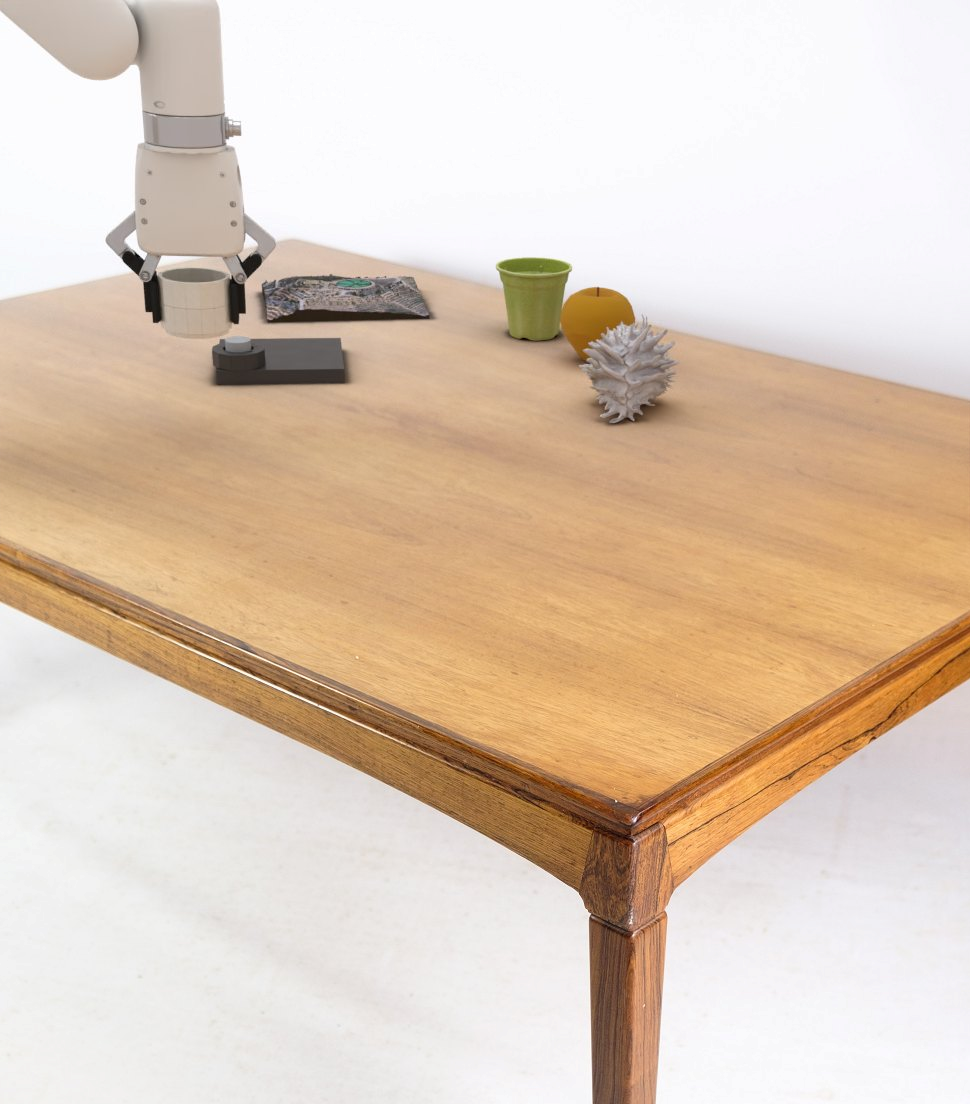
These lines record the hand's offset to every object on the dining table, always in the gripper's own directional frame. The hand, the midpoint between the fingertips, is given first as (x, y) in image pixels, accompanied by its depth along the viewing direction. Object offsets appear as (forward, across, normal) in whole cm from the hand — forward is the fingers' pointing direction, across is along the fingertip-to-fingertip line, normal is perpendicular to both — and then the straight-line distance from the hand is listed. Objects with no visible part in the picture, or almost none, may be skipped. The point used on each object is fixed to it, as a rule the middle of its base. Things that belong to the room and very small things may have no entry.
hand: (196, 318), depth 162 cm
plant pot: (+11, -39, -35) cm, 53 cm away
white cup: (+1, 0, 0) cm, 1 cm away
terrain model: (+11, -16, -50) cm, 54 cm away
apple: (+11, -45, -23) cm, 51 cm away
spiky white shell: (+11, -45, -4) cm, 46 cm away
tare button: (+8, -3, -18) cm, 20 cm away
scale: (+11, -8, -22) cm, 26 cm away
